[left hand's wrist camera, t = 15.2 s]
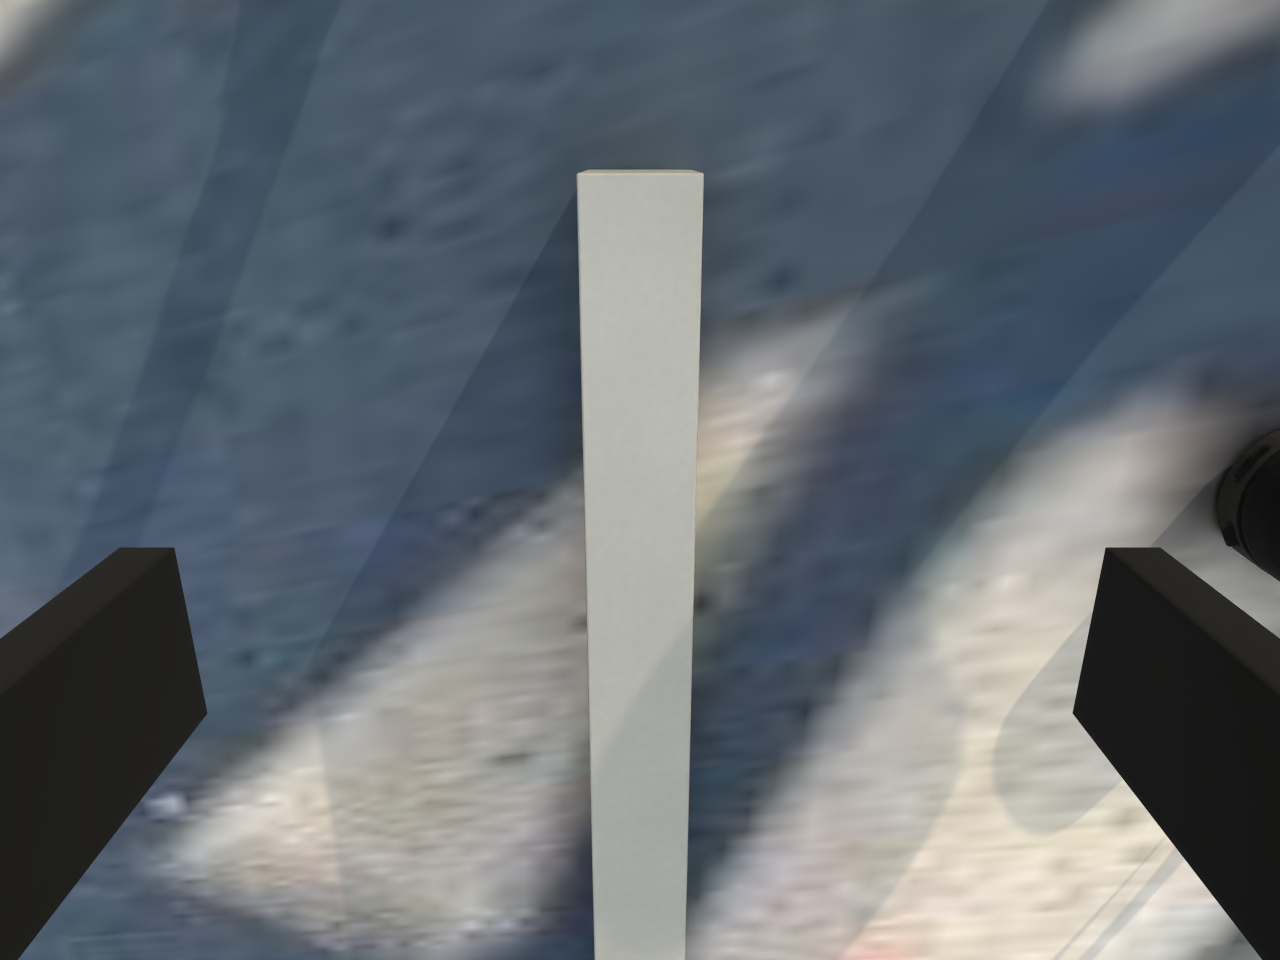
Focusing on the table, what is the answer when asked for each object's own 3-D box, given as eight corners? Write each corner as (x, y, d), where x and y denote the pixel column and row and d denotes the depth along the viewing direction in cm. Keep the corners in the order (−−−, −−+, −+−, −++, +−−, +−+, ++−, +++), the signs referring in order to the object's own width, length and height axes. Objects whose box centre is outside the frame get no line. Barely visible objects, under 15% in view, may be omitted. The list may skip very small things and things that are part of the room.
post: (586, 169, 42) (576, 173, 35) (693, 169, 42) (704, 173, 35) (602, 996, 60) (597, 1105, 53) (676, 996, 60) (681, 1105, 53)
